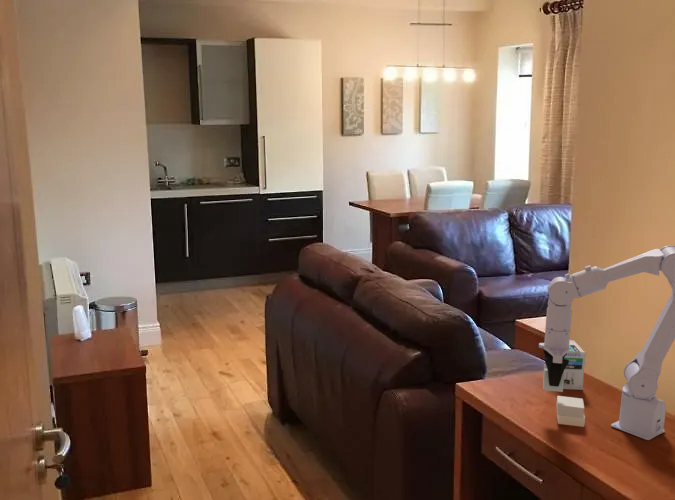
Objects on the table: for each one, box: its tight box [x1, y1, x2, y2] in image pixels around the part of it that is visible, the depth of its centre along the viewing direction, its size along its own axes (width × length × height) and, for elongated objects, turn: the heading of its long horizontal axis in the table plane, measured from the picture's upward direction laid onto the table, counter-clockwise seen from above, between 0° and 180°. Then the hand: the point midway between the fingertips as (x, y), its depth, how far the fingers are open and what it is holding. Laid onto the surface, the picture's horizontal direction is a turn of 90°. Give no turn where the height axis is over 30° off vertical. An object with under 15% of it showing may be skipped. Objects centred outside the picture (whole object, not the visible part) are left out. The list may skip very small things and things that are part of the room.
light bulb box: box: [563, 339, 587, 391], centre depth 202 cm, size 11×7×11 cm, turn 179°
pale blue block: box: [542, 363, 565, 393], centre depth 178 cm, size 4×4×5 cm
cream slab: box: [556, 414, 586, 428], centre depth 179 cm, size 6×6×2 cm
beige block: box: [555, 395, 585, 418], centre depth 179 cm, size 6×6×2 cm
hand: (553, 381), depth 179 cm, fingers closed on pale blue block, 4 cm apart
